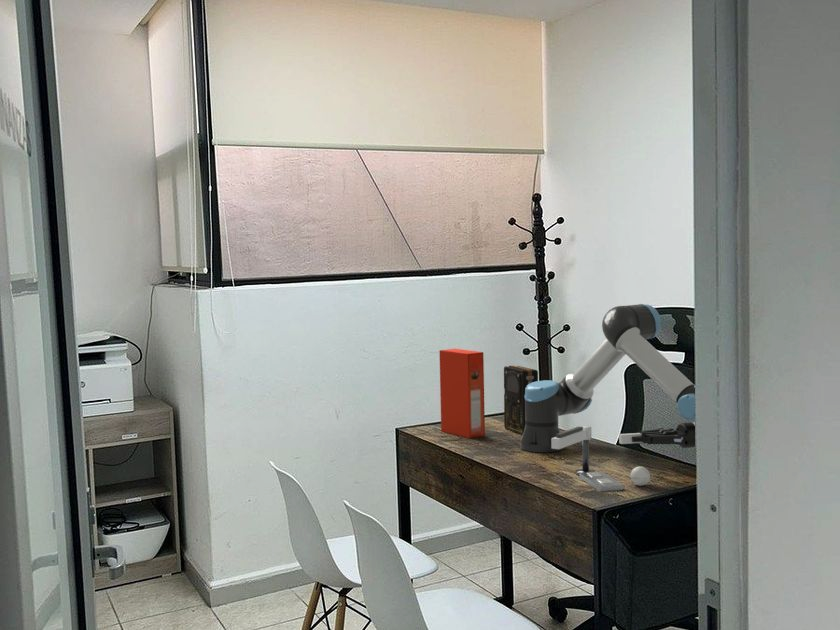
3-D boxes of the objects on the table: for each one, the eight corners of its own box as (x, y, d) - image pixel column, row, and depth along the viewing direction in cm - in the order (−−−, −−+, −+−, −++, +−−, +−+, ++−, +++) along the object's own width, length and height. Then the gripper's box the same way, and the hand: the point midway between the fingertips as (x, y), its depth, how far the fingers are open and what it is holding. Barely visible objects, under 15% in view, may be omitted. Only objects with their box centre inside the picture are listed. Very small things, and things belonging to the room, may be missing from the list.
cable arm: (583, 437, 271) (583, 423, 271) (593, 438, 269) (593, 424, 268) (549, 449, 255) (549, 434, 255) (560, 450, 253) (560, 436, 252)
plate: (579, 477, 265) (579, 471, 265) (600, 476, 266) (600, 470, 266) (600, 491, 249) (600, 485, 249) (622, 489, 251) (622, 483, 251)
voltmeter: (501, 428, 341) (501, 365, 340) (520, 426, 345) (520, 364, 343) (521, 436, 327) (520, 370, 325) (541, 433, 330) (540, 369, 329)
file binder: (468, 438, 324) (467, 353, 322) (440, 431, 338) (439, 350, 336) (484, 435, 329) (484, 352, 327) (456, 428, 343) (455, 348, 341)
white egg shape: (626, 484, 257) (626, 465, 257) (643, 482, 259) (643, 463, 259) (640, 490, 250) (640, 471, 250) (657, 488, 252) (657, 469, 251)
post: (573, 472, 272) (572, 438, 271) (590, 471, 273) (590, 437, 272) (580, 477, 266) (580, 442, 265) (598, 475, 267) (598, 441, 266)
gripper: (704, 451, 256) (629, 456, 251) (682, 442, 269) (611, 446, 264) (704, 426, 255) (629, 430, 251) (683, 418, 268) (611, 422, 264)
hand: (620, 439), depth 258 cm, fingers closed
